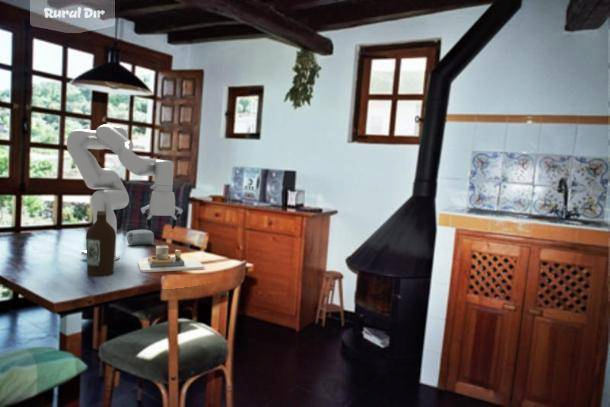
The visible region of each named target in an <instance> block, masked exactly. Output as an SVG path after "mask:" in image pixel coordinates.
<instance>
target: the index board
mask: <svg viewBox="0 0 610 407" xmlns="http://www.w3.org/2000/svg"><path fill="white" fill-rule="evenodd" d="M182 260H183V261H184V265H182V266H163V267H150V265H149V263H148V260H137V263H136V264H137V266H138V268H139V271H140V273H155V272H158V273H159V272H173V271H176V272H177V271H190V270H193V269H195V270H200V269H199V268H204V269H205V265H203V263H202V262H201V261H200V260H199V259H197V258H182Z"/></svg>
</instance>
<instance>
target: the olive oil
mask: <svg viewBox="0 0 610 407" xmlns="http://www.w3.org/2000/svg"><path fill="white" fill-rule="evenodd" d="M85 241H86V242H85V243H86V251H87V255H86V264H87V265H86V266H87V267H86V268H87V269H86V270H87V273H86V274H87V275H88V276H90V277H107V276H111V275H113V273H114V272H115V271H114V270H115V260H114V254H115V241H116V242H117V232H116V233H115V230H114V229H113V227H112V226H111V225H110V224H109V223H108V222H107V221H106V211H97V221H96V222H95V223H94V224H93V223H92V225H91V226H89V228H88V229H87V231H86V235H85Z"/></svg>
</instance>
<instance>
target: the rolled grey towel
mask: <svg viewBox="0 0 610 407" xmlns="http://www.w3.org/2000/svg"><path fill="white" fill-rule="evenodd" d="M126 240H127V241H126V242H127V243H128V245H129V246H139V245H140V246H141V245H143V246H144V245H145V246H146V245H147V246H148V245H152V244H153V243H154V240H155V236H154V232H153V231H152V230H148V229H135V230H134V229H133V230H129V231H128V232H127V235H126Z"/></svg>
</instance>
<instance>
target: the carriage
mask: <svg viewBox="0 0 610 407" xmlns="http://www.w3.org/2000/svg"><path fill="white" fill-rule="evenodd" d="M181 255H182V250H181V249H175V250H174V257H173V256H171V255H168V260H156V255H155V256H154V255H153V256H149V257H148V258H147V261H148V263H149V265H150V267H163V266H182V265H184V261H183V260H182V259H183V258H182V256H181Z"/></svg>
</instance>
